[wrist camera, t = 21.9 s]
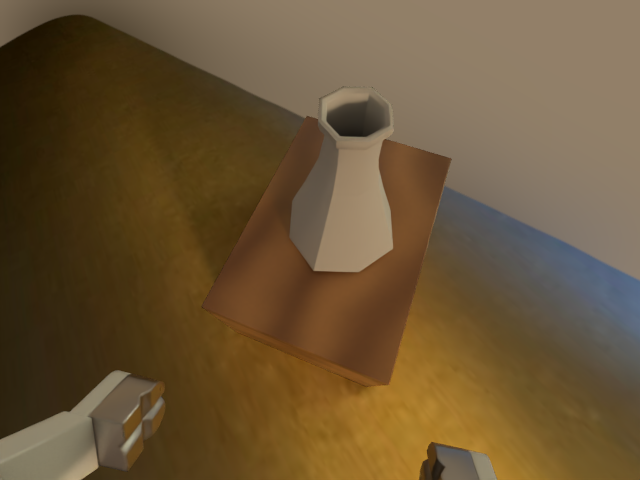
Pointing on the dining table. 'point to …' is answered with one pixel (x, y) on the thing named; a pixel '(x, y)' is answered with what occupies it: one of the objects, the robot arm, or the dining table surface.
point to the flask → (346, 185)
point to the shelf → (327, 286)
